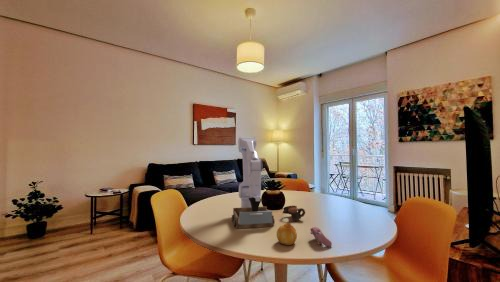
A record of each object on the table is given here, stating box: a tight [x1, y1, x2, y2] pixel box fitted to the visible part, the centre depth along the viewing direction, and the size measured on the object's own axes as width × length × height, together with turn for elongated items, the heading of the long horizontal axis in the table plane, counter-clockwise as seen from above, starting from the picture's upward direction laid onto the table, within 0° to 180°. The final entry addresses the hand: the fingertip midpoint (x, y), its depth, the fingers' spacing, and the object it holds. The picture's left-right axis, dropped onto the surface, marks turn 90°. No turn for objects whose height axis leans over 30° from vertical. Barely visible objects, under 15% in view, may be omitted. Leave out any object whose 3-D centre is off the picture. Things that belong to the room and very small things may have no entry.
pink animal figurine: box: [309, 226, 333, 248], centre depth 94 cm, size 10×5×7 cm, turn 5°
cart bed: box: [231, 206, 275, 230], centre depth 118 cm, size 20×14×6 cm
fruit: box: [276, 222, 298, 246], centre depth 93 cm, size 8×8×8 cm
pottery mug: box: [282, 205, 306, 223], centre depth 124 cm, size 12×10×8 cm
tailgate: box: [239, 210, 273, 225], centre depth 109 cm, size 16×2×6 cm, turn 101°
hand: (254, 213), depth 112 cm, fingers closed
